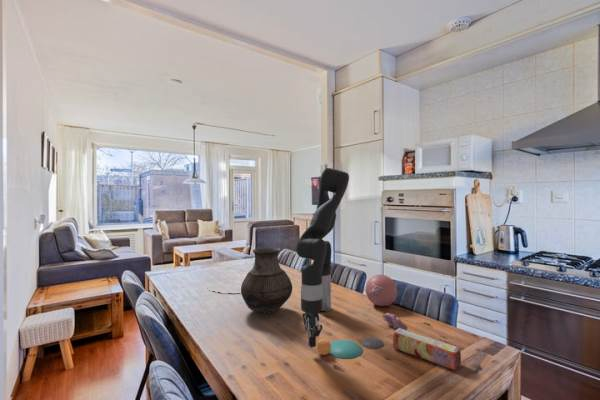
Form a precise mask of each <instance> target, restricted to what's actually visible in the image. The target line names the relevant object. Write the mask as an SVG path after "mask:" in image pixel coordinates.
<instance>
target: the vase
mask: <svg viewBox="0 0 600 400" xmlns="http://www.w3.org/2000/svg"><path fill="white" fill-rule="evenodd" d="M281 250H282V249H281V248H278V247H261V248H254V249H252V252H253V255H254V263H253V268H251V270H249V272H248V273H247V274H246V275H245V276H246V277H245V278H244V280H243V282H242V285H241V294H240V295H241V297H242V299H243V301H244V304H245V305H246V306H247V308H249V310H250V311H251V312H254V313H258V314H273V313H275V312H277V311H279V309H281V307H283V305H284V304H285V303H286V302H288V300H289V299H290V297H291V296H292V293H293V284H292V281H291V278H290V276H289V275H288V274H287V272H286V271H285V270H284V269H283V268H281V265H280V262H279V258H278V257H279V253H280V252H281Z"/></svg>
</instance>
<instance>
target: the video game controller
mask: <svg viewBox="0 0 600 400" xmlns="http://www.w3.org/2000/svg"><path fill="white" fill-rule="evenodd" d="M382 317H383V321H385V322H386V323H387V324H388V326H390V327H393V328H394V329H395V330H397V329H399V328H401V329H404V330H406V331H408V326H407V325H406V324H405V323H404V322H403V321H402V320H401V319H400V318H399V317H397V316H396V315H395V314H394V313H389V312H387V313H384V314H383V315H382Z"/></svg>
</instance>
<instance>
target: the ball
mask: <svg viewBox="0 0 600 400" xmlns="http://www.w3.org/2000/svg"><path fill="white" fill-rule="evenodd" d="M315 347H316V351H317V353H318V354H319V355H321V356H325V355H326V356H327V355H328V354H329V352H330V350H331V345H330V341H329V340H328V339H326V338H321V339H319V340H318V341H317V342H316V346H315Z"/></svg>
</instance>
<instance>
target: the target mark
mask: <svg viewBox="0 0 600 400" xmlns="http://www.w3.org/2000/svg"><path fill="white" fill-rule="evenodd" d="M329 343H330V345H331V350H330V352H329V353H328V354H329V355H331V356H332V357H334V358H338V359H343V360H344V359H347V360H348V359H354V358H357V357H359V356H362V354H363V348H362V346H361V345H360V344H359V343H357V342H355V341H351V340H348V339H347V340H346V339H336V340H332V341H329Z"/></svg>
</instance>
